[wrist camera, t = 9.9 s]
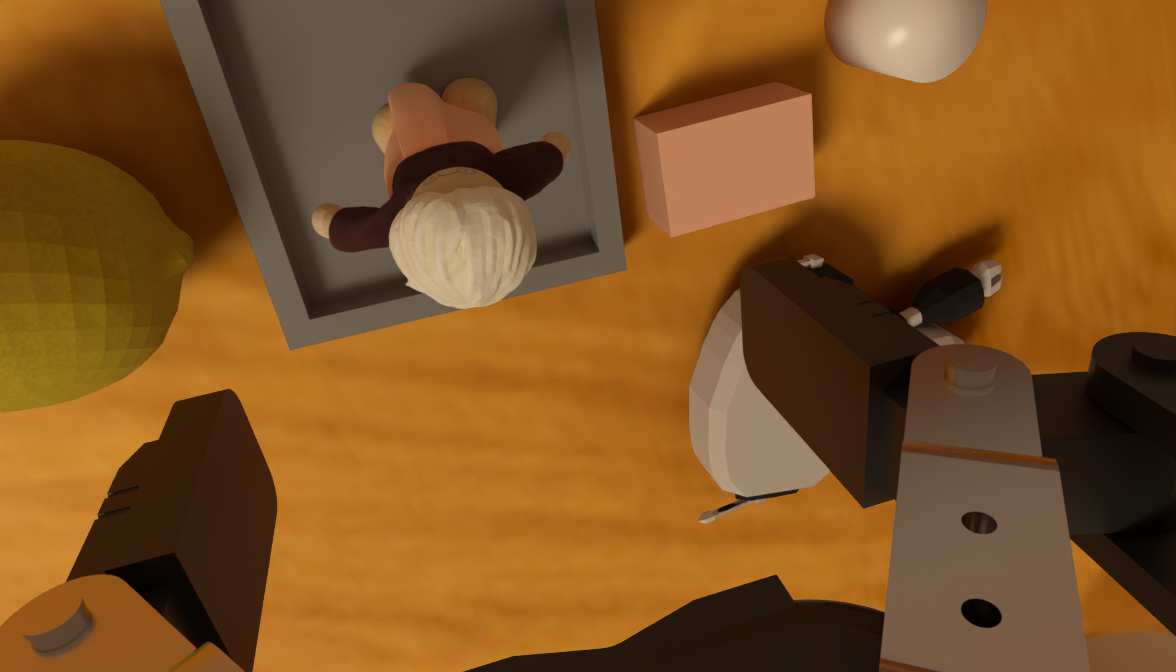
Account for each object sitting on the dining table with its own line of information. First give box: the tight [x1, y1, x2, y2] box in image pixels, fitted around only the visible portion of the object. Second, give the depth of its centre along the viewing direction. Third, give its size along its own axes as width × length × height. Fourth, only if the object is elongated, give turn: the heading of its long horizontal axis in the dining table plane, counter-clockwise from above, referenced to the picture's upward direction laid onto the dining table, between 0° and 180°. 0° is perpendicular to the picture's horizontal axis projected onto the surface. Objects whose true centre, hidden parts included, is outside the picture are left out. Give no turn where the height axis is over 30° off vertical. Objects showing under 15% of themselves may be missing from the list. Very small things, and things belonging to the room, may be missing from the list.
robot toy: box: [689, 254, 1002, 524], centre depth 36 cm, size 12×4×15 cm
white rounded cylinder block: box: [824, 0, 987, 83], centre depth 28 cm, size 4×4×4 cm
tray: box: [160, 0, 627, 350], centre depth 27 cm, size 13×13×2 cm
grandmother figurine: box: [312, 78, 572, 309], centre depth 22 cm, size 8×4×13 cm, turn 115°
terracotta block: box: [633, 81, 815, 238], centre depth 30 cm, size 6×4×3 cm, turn 101°
